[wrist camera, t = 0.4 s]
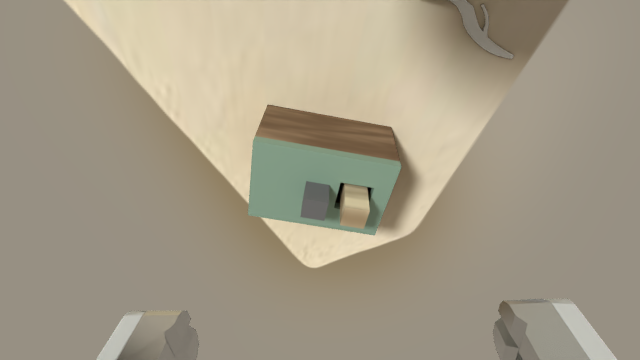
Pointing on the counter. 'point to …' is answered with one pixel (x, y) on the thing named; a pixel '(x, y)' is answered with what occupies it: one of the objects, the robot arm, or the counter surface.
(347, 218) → the wooden block
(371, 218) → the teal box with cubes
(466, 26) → the pliers
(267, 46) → the counter surface
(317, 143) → the toolbox
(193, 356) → the robot arm
